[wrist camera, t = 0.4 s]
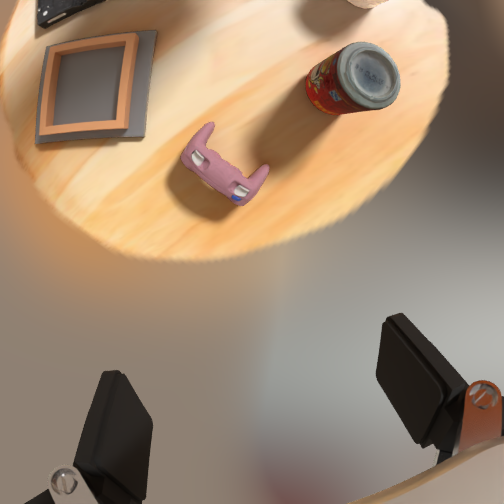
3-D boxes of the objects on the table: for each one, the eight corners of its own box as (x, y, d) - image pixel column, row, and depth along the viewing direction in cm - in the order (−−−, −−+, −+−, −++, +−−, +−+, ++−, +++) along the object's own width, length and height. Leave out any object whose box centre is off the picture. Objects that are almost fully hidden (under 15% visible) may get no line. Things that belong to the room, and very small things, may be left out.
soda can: (309, 56, 31) (350, 27, 20) (357, 78, 33) (411, 62, 21) (293, 104, 33) (331, 89, 22) (343, 124, 35) (396, 122, 23)
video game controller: (190, 142, 35) (168, 167, 30) (210, 116, 32) (189, 135, 27) (251, 189, 38) (240, 220, 33) (274, 166, 35) (267, 194, 30)
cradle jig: (49, 47, 25) (39, 43, 23) (157, 32, 28) (153, 24, 25) (38, 143, 30) (27, 144, 27) (145, 136, 32) (139, 136, 30)
